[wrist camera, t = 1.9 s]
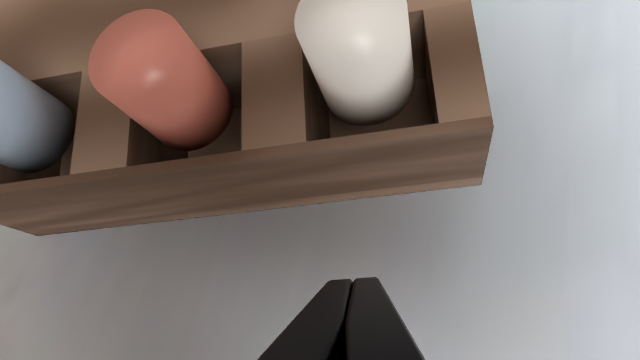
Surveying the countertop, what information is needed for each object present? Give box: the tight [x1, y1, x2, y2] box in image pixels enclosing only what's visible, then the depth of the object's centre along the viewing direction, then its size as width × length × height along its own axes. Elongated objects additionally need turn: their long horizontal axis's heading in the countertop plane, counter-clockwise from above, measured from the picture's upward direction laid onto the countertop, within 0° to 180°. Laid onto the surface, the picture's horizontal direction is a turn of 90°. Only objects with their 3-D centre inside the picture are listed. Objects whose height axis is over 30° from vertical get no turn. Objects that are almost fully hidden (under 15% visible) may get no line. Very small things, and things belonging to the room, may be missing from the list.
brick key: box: [88, 9, 233, 151], centre depth 19 cm, size 3×3×4 cm
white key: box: [294, 0, 415, 126], centre depth 17 cm, size 3×3×4 cm
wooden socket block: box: [0, 0, 494, 236], centre depth 24 cm, size 10×22×6 cm, turn 93°
